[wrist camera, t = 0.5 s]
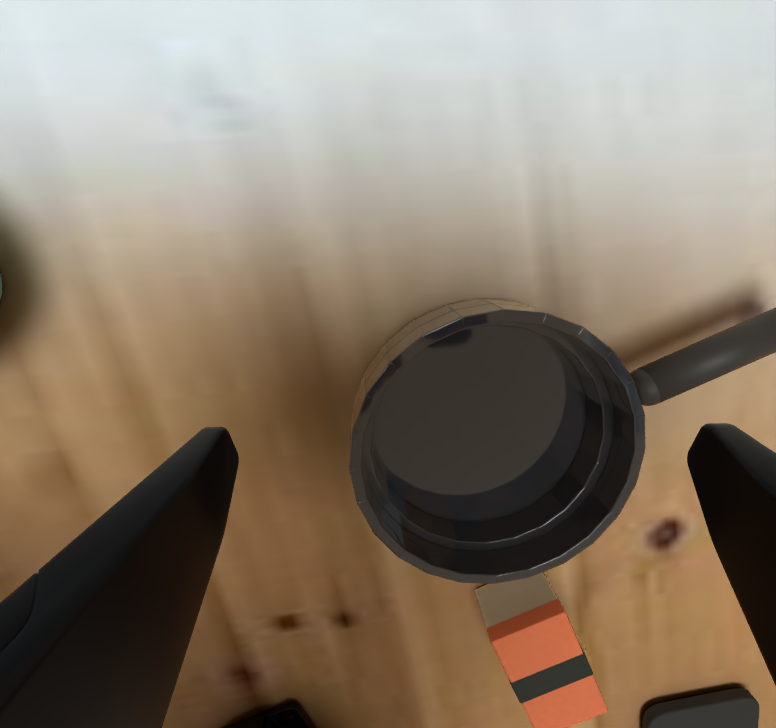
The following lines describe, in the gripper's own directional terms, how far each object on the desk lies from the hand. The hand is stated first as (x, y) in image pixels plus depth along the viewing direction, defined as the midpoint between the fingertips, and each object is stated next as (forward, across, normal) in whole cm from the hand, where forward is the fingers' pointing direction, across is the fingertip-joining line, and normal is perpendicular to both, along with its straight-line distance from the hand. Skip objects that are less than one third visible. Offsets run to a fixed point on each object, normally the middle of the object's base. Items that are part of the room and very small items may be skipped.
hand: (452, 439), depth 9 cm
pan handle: (+11, -12, +7) cm, 18 cm away
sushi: (+6, -5, +23) cm, 24 cm away
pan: (+10, -2, +11) cm, 15 cm away
